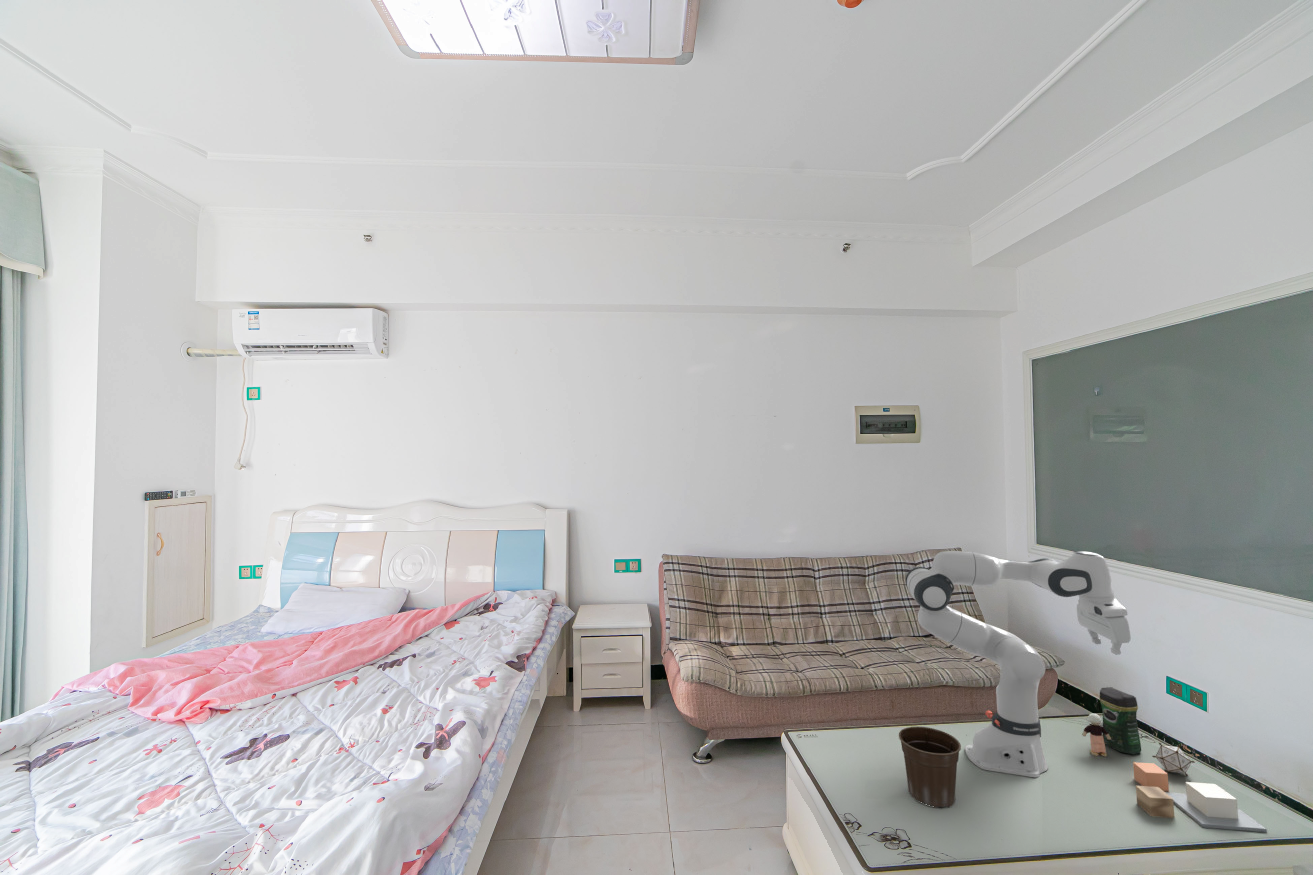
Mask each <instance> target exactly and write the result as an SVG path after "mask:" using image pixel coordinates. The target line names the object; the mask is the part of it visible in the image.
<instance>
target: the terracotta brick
mask: <svg viewBox="0 0 1313 875" xmlns="http://www.w3.org/2000/svg"><path fill="white" fill-rule="evenodd" d="M1132 764H1133V778H1134V780H1135V781H1136V782H1137V783H1138V784H1140V786H1150V787H1159V788H1160V789H1161V790H1163V791H1164V792H1169V791H1170V787H1169V786H1170V785H1169V775H1168V774H1169V773H1168V774H1167V773H1166V770H1164V769H1163V768H1161V767H1159V766H1158V765H1156V763H1153V762H1150V763H1149V762H1132Z"/></svg>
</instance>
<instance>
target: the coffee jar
mask: <svg viewBox="0 0 1313 875" xmlns="http://www.w3.org/2000/svg"><path fill="white" fill-rule="evenodd" d="M1098 698H1099V701H1100V706H1101V709H1102V711H1101V712H1102V727H1103V728H1104V729H1105V730H1106V731H1107V732H1108V734H1109V736H1110V737H1111V739H1110V740H1109V739H1107V737H1106V735H1105V734H1104V733H1102V735H1103V739H1104V743H1105V746H1107V747H1110V748H1112V749H1114V750H1116V751H1118V752H1120V753H1123V754H1130V755H1137V754H1140V753H1141V752H1142V744H1141V739H1140V733H1139V726H1138V720H1137V713H1138V708H1139V705H1138V701H1137V697H1135V695H1132V694H1128V693H1126V692H1124V691H1122V690H1119V689H1116V688H1114V687H1112V686H1109V687H1108V686H1106V687H1101V688H1100V690H1099V697H1098Z"/></svg>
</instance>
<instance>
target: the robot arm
mask: <svg viewBox="0 0 1313 875" xmlns="http://www.w3.org/2000/svg"><path fill="white" fill-rule="evenodd" d="M1000 580H1014V581H1024V582H1025V581H1026V582H1030V583H1032V584H1034V585H1036V586H1038V587H1040V588H1042V589H1045V590H1047V591H1049V592H1050V593H1051V594H1054V595H1056V596H1059V597H1062V598H1070V597H1076V596H1077V597H1078V600H1077V601H1078V603H1077V604H1076V614H1077V622H1078V624H1079V626H1082V627H1083V628H1085V629H1087V632H1088V634H1089V636H1090V637H1091V641H1092V643H1093V644H1095V645H1101V644H1102V642H1101V637H1100V636H1102V637H1104V638H1105V639H1108V640H1109V641H1110V643H1111V644H1112V645H1111V646H1110V651H1111V653H1112V654H1114V655H1116V656H1117V655H1118V656H1119V655H1121V653H1122V652H1121V647H1122V644H1128V643H1130V641H1131V631H1130V625H1129V621H1128V619H1127V616H1128V610H1127V608H1126V607H1124V605H1122V604H1121V603H1120V602H1119V601H1118V600H1117V598H1115V597H1116V596H1115V593H1114V591H1113V590H1112V584H1111V583H1112V578H1111V572H1110V569H1109V565H1108V564H1107V560H1106V558H1105V557H1104V556H1102V555H1101V554H1099V553H1096V552H1091V551H1084V550H1083V551H1081V550H1079V551H1074V552H1073V553H1072V554H1071V556H1070V557H1068V558H1067V559H1065V560H1063V561H1061V562H1058V561H1057V560H1055V559H1052V558H1046V557H1044V558H1039V559H1035V560H1031V561H1020V560H1009V559H1002V558H1001V559H1000V558H998V557H995V556H992V555H988V554H985V553H980V552H974V551H962V550H946V551H940V552H938V553H937V554H936V555H935V556H934V558H933V560H932V565H931V568H928V567H924V566H917V567H914V568H912V569H910V570H909V571H908V572H907V574H906V576H905V580H904V581H905V587H906V589H907V590H908V593H909V595H910V596H911V597H912V599H914V600H915V602H916V603H917V604H918V605H919V606H920V607H919V609H918V611H917V622H918V624H919V626H920V627H921V628H922V629H924V630H925V631H927V632H928V633H929V634H931V635H933V636H934V637H935V638H937V639H940V640H942V641H944V642H945V643H948V644H950V645H952V646H954V647H956V648H958V649H960V650H962V651H964V652H966V653H968V654H970V655H976V656H979V657H982V658H983V659H984V658H985V659H988V660H989V661H991V662H994V663H995V664H997V665H998V666H999V668H1000V677H999V681H998V684H997V686H996V688H995V693H996V694H995V695H996V708H997V709H996V710H997V711H996V712H995V713H993V712H992V711H991V710H986V711H985V715H986V716H987V718H988V719H990V720H991V723H989V724H988V725H986V726H985V727H983V728H981V729H979V730H977V731H976V732H975V733H974V735H973V739H972V744H967V745H966V746H965V749H964V751H965V754H966V756H967V758H968V759H969V761H971V763H973V764H974V765H975V766H977V767H978V768H980V769H981V770H985V771H991V772H998V773H1004V774H1010V775H1018V776H1023V777H1031V778H1038V777H1040V774H1042V773H1044V772H1046V771H1047V770H1048V769H1049V766H1048V763H1047V760H1046V757H1045V754H1044V749H1043V745H1042V740H1041V737H1042V726H1041V720H1040V718H1039V710H1038V691H1039V684H1040V680H1041V679H1043V677H1044V676H1045V675H1046V674H1045V673H1046V664H1045V662H1044V660H1043V658H1042V657H1041V655H1040V654H1039V652H1038V651H1037V650H1036V649H1035V648H1034V647H1033V646H1031V645H1029V644H1028V643H1026V642H1025V641H1024V640H1022V638H1020V637H1018V636H1017V635H1015V634H1014V633H1011V632H1009V631H1007V630H1005V629H1002V628H999V627H997V626H994V625H991V624H989V623H985V622H984V621H982V620H979V619H977V618H975V617H972V616H970V615H968V614H966V613H964V612H962V611H960V610H957V609H954V608H952V607H951V606H949V605H948V604H949V603H950V600H951V597H952V594H953V592H954V590H955V586H956V585H959V586H960V585H961V586H968V587H973V588H974V587H975V588H976V587H977V588H989V587H990V588H991V587H994V586H996V585H997V584H998V583H999V582H1000Z"/></svg>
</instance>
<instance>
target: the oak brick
mask: <svg viewBox="0 0 1313 875" xmlns="http://www.w3.org/2000/svg"><path fill="white" fill-rule="evenodd" d="M1135 790H1136V791H1135V795H1136V804H1137V805H1138V806H1139V807H1140V808H1141V809H1142V810H1144V812H1146V814H1148V815H1149V816H1151V817H1155V818H1156V817H1159V818H1169V819H1170V818H1171V819H1175V807H1174V806H1175V804H1174V803H1173V799H1172V798H1171V797H1170V796H1169V795H1168V794H1166V793H1165V792H1166V791H1163V790H1161V789H1160V788H1159V787H1150V786H1142V785H1135Z"/></svg>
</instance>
